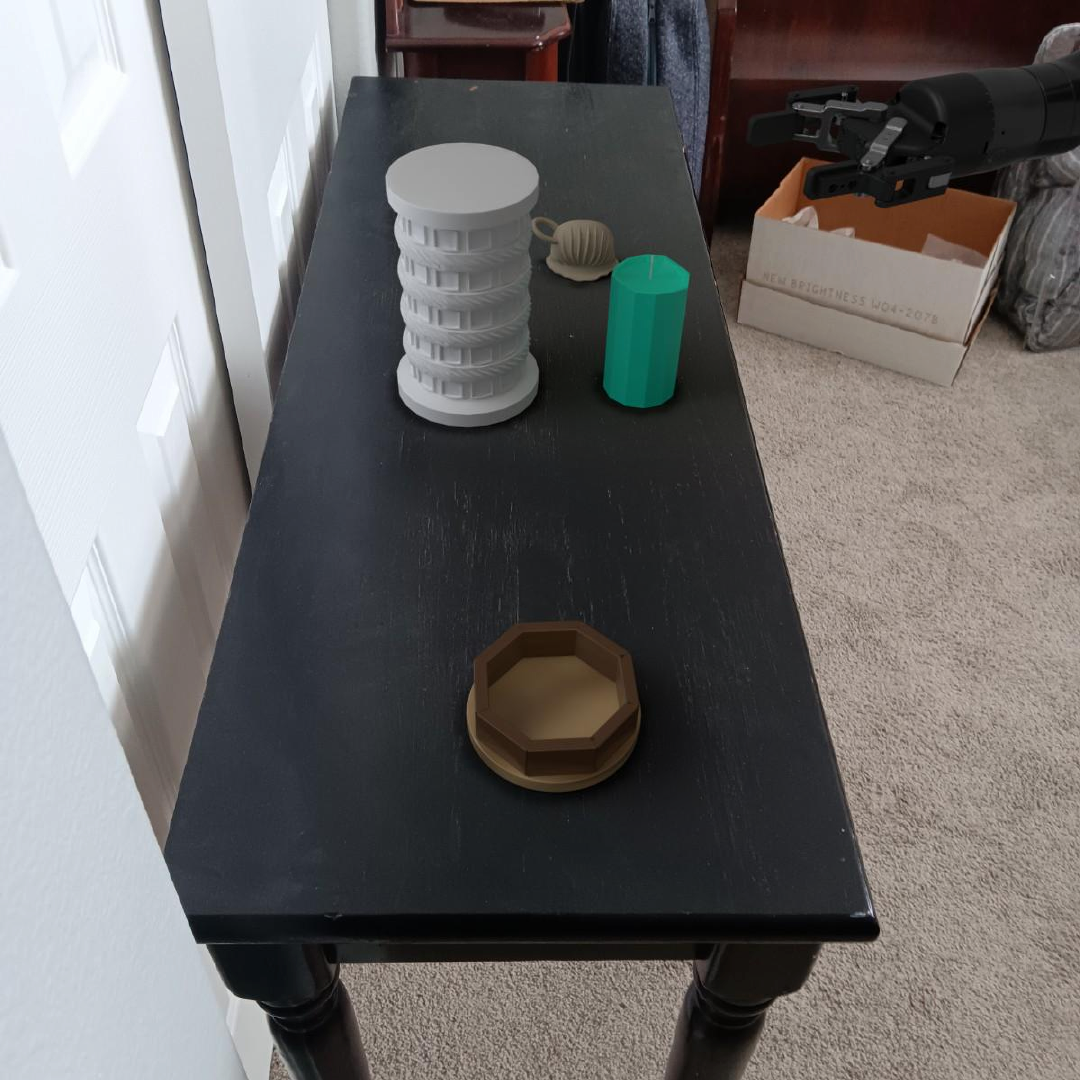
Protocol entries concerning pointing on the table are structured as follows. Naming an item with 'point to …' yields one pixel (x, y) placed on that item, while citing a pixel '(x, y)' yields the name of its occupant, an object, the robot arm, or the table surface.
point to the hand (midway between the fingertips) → (777, 157)
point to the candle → (644, 330)
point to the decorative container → (465, 281)
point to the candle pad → (554, 706)
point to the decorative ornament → (579, 249)
